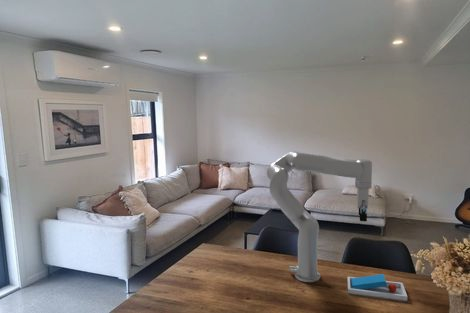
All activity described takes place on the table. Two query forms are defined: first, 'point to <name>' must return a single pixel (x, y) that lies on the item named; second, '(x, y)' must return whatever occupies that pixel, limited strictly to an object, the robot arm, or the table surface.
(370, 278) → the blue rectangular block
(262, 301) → the table surface
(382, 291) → the tray
